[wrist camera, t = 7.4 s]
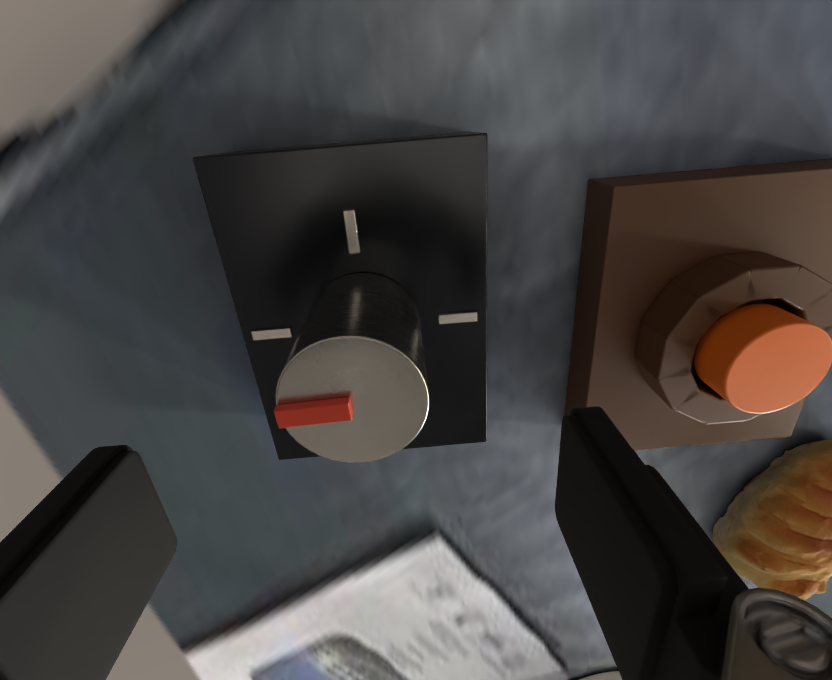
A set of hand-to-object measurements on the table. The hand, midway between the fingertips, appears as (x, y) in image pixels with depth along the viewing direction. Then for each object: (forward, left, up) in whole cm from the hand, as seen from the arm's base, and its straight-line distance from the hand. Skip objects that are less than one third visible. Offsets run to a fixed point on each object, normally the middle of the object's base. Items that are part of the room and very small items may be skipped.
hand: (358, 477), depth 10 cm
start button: (-1, -14, -6) cm, 15 cm away
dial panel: (+1, 0, -10) cm, 10 cm away
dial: (+1, 0, -7) cm, 7 cm away
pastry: (-14, -22, -10) cm, 28 cm away
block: (-1, -14, -10) cm, 17 cm away
